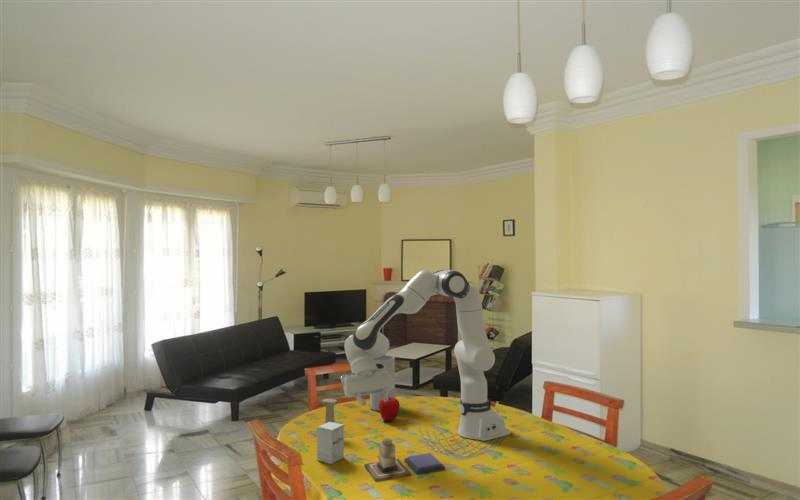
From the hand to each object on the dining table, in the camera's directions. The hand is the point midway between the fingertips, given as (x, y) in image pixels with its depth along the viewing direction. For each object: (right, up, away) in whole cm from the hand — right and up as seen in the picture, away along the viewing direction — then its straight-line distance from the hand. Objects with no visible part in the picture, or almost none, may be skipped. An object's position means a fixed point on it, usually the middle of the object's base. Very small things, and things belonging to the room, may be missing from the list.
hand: (375, 402), depth 193 cm
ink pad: (+18, -20, -8) cm, 28 cm away
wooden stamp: (+5, -19, -13) cm, 24 cm away
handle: (-20, -21, +22) cm, 37 cm away
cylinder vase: (+1, -21, +61) cm, 64 cm away
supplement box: (-17, -21, -2) cm, 27 cm away
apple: (+4, -21, +42) cm, 47 cm away
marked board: (+5, -20, -13) cm, 24 cm away
